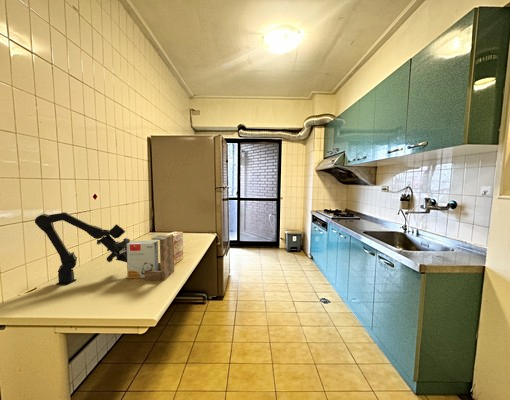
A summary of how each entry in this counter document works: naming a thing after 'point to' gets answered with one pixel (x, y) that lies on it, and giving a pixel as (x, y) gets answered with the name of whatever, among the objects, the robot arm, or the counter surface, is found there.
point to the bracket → (163, 259)
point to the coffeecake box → (177, 246)
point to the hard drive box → (141, 258)
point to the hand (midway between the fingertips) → (130, 262)
